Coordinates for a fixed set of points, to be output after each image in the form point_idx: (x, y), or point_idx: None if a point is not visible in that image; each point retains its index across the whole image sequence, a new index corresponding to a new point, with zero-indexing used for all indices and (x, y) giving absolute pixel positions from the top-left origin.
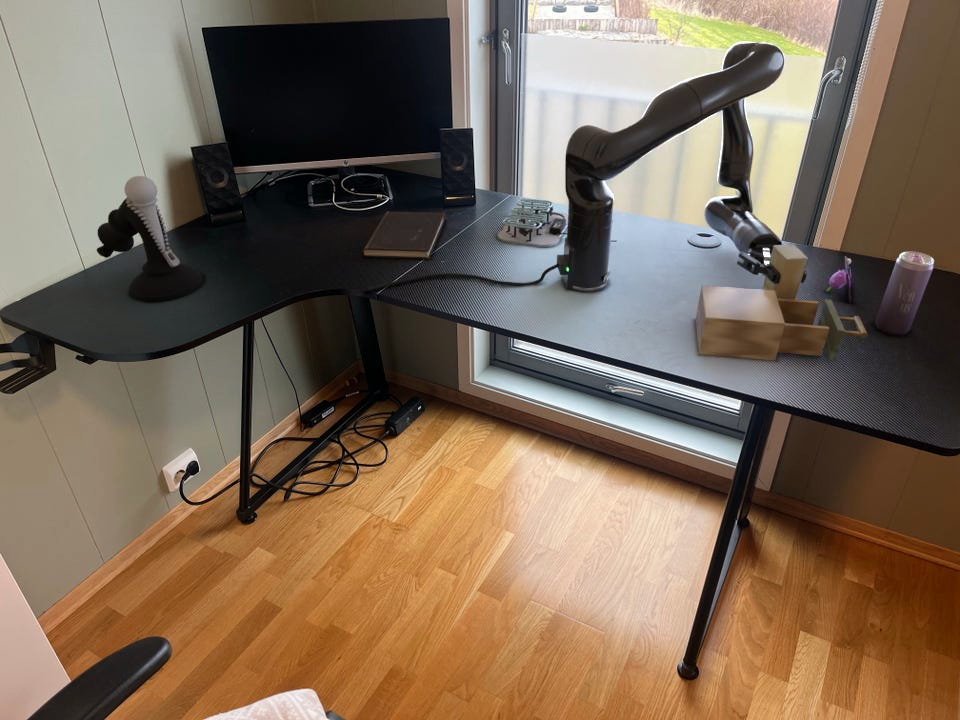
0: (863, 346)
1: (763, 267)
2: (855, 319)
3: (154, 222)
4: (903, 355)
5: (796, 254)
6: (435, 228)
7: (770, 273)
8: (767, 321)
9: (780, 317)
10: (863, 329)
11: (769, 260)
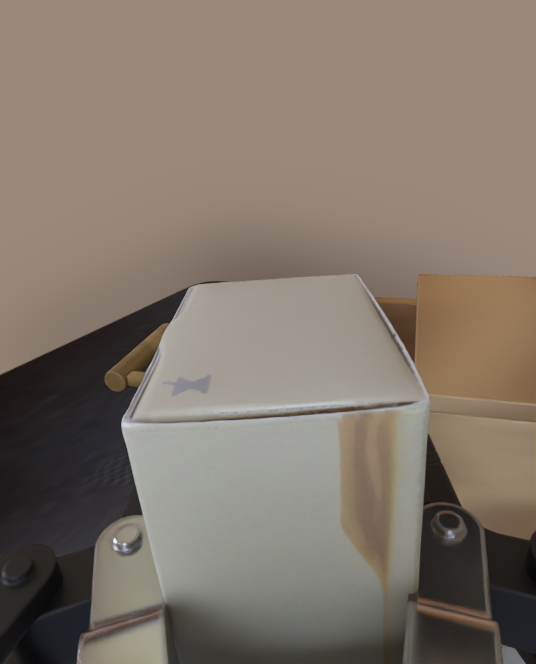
0: (112, 437)
1: (489, 530)
2: (132, 364)
3: None
4: (47, 407)
5: (250, 297)
6: None
7: (432, 445)
8: (474, 276)
9: (427, 286)
10: (158, 330)
11: (418, 597)
